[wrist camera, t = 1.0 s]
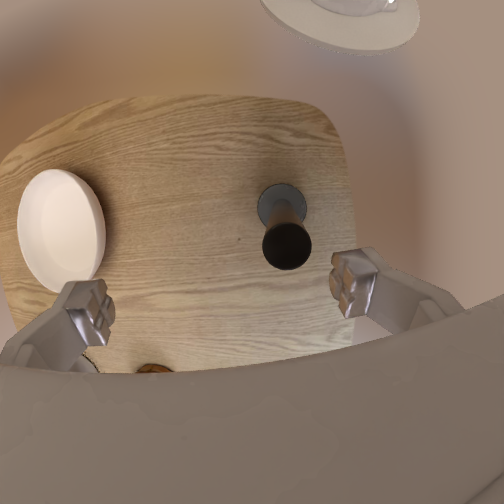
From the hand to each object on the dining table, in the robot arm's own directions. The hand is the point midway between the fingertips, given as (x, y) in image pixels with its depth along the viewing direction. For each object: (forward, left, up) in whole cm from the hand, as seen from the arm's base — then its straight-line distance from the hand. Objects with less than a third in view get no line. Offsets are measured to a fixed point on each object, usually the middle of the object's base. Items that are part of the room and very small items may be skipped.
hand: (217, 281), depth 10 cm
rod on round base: (-1, +2, -28) cm, 29 cm away
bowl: (+13, -29, -29) cm, 43 cm away
